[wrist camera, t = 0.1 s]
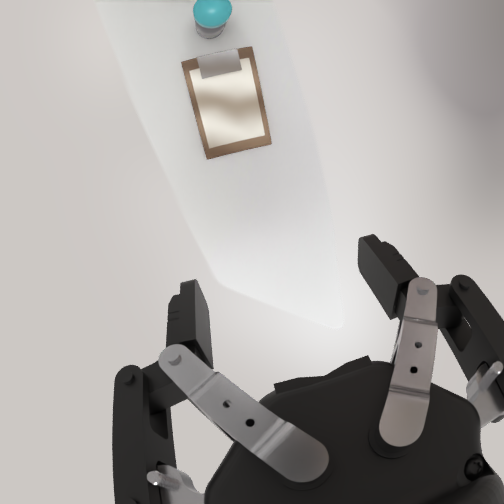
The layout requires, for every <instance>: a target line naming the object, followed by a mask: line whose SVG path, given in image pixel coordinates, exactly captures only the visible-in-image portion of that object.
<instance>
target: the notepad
mask: <svg viewBox="0 0 504 504" xmlns="http://www.w3.org/2000/svg"><path fill="white" fill-rule="evenodd" d="M181 63H182V67H183V71H184V75H185V79H186V83H187V87H188V90H189V94H190V98H191V102H192V106H193V109H194V113H195V117H196V121H197V125H198V128H199V132H200V136H201V139H202V143H203V147H204V151H205V154H206V158H207V159H211V158H215V157H219V156H223V155H227V154H231V153H235V152H239V151H243V150H248V149H252V148H256V147H261V146H266V145H270V144H272V143H271V138H270V133H269V127H268V122H267V117H266V112H265V106H264V101H263V96H262V91H261V87H260V82H259V77H258V72H257V67H256V63H255V58H254V53H253V49H252V46H251V47H245V48H240V49H232V50H227V51H222V52H217V53H213V54H209V55H204V56H200V57H197V58H194V59H191V60H187V61H183V62H181Z"/></svg>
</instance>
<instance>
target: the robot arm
mask: <svg viewBox="0 0 504 504" xmlns="http://www.w3.org/2000/svg"><path fill="white" fill-rule="evenodd" d="M358 243H359V244H358V267H359V270H360V273H361V275H362V276H363V278H364V279H365V281H366V282H367V284H368V285H369V287H370V288H371V290H372V291H373V293H374V295H375V296H376V298H377V299H378V301H379V303H380V304H381V305H382V307H383V309H384V311H385V312H386V314H387V315H388V317H389V318H390V320H391V319H394V318H396V317H398V318H399V320H400V322H399V326H398V331H397V336H396V341H395V345H394V350H393V354H392V358H391V361H390V363H388V362H384V361H371V360H370V358H369V356H368V355H367V356H365V357H362V358H359V359H356V360H353V361H350V362H348V363H345V364H344V365H342V366H340V367H339V368H337V369H336V370H334V371H332V372H330V373H329V374H327V375H325V376H317V377H300V378H295V379H291V380H287V381H283V382H280V383H275V384H274V388H275V390H274V391H273V392H271V393H269V394H267V395H266V396H265V397H263V398H262V399H261V400H260V401H259V402H257V401H256V400H254V399H253V398H252V397H250V396H249V395H248V394H247V393H245V392H244V391H243V390H241V389H240V388H239V387H238V386H236V385H235V384H234V383H232V382H231V381H230V380H229V379H227V378H226V377H225V376H224V375H222V374H221V373H219V372H214V371H213V370H212V369H214V368H213V357H212V347H211V333H210V320H209V310H208V306H207V303H206V300H205V298H204V295H203V293H202V291H201V288H200V286H199V284H198V281H197V280H196V279H194V280H190V281H186V282H182V283H181V286H180V294H179V295H174V296H173V297H172V299H171V301H170V303H169V305H168V322H167V337H166V348H165V349H164V350H163V351H162V352H161V354H160V356H159V359H158V361H156V362H155V363H153V364H152V365H149V366H147V367H145V368H143V369H140V368H139V367H138V366H135V365H128V366H125V367H124V368H122V369H121V370H120V371H119V372H118V373H117V375H116V377H115V384H114V400H113V401H114V402H113V433H112V435H113V436H112V450H113V479H114V480H113V481H114V496H115V504H504V485H503V483H502V480H501V478H500V477H499V476H498V475H497V473H495V471H494V470H493V469H492V468H491V467H490V466H489V464H488V463H487V462H486V460H485V459H484V457H483V454H482V450H481V443H480V432H481V431H480V429H481V428H482V427H484V426H485V425H487V424H488V423H490V422H493V423H496V422H499V421H500V420H502V419H503V418H504V321H503V319H502V318H501V316H500V315H499V314H498V312H497V311H496V309H495V308H494V307H493V305H492V304H491V303H490V301H489V300H488V298H487V297H486V296H485V294H484V293H483V292H482V291H481V289H480V288H479V287H478V285H477V284H476V283H475V282H474V281H473V280H472V279H471V278H470V277H468V276H466V275H456V276H455V277H453V278H452V281H451V284H446V285H435V283H434V282H433V281H431V280H430V279H427V278H423V277H419V276H418V275H417V273H416V272H415V271H414V270H413V269H412V267H411V266H410V265H409V264H408V262H407V261H406V260H405V259H404V258H403V257H402V255H401V254H399V252H398V251H397V249H396V248H395V247H394V246H392V245H391V244H389V243H387V242H381V241H380V240H379V239H378V238H377V237H376V236H375V235H374V234H371V235H368V236H364V237H361V238H359V242H358ZM465 319H466V320H467V321H466V320H465ZM467 322H468V323H469V324H468V323H467ZM469 325H470V326H469ZM438 329H440V331H441V332H442V334H443V336H444V337H445V339H446V341H447V343H448V344H449V346H450V348H451V350H452V352H453V353H454V355H455V357H456V359H457V361H458V363H459V365H460V366H461V368H462V370H463V372H464V374H465V376H466V378H467V380H468V384H467V387H466V392H467V399H465V398H463V397H461V396H459V395H456V394H454V393H452V392H450V391H448V390H446V389H443V388H442V387H439V386H438V385H435V384H433V383H431V379H432V372H433V366H434V359H435V351H436V341H437V332H438ZM186 399H188V400H189V401H190V402H191V403H192V404H193V405H194V406H195V407H196V408H198V410H199V411H200V412H201V413H202V414H204V415H205V416H206V417H207V418H208V419H209V420H210V421H211V422H212V423H213V424H214V425H216V427H217V428H218V429H219V430H220V431H222V432H223V433H224V434H225V435H226V436H227V437H228V438H230V439H231V440H232V441H233V442H234V443H233V444H232V446H231V448H230V449H229V451H228V453H227V454H226V456H225V458H224V459H223V461H222V463H221V464H220V466H219V467H218V469H217V471H216V472H215V474H214V475H213V477H212V479H211V480H210V482H209V483H208V485H207V487H206V490H205V493H204V494H201V493H199V492H198V491H197V490H196V489H195V487H194V485H193V482H192V480H191V478H190V477H189V476H188V475H187V474H186V473H184V472H182V471H180V470H177V467H176V459H175V450H174V441H173V432H172V421H171V410H170V407H171V406H173V405H175V404H177V403H179V402H181V401H184V400H186Z"/></svg>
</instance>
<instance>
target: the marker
mask: <svg viewBox="0 0 504 504" xmlns="http://www.w3.org/2000/svg"><path fill="white" fill-rule="evenodd" d="M231 11H232V6H231V3H230V1H229V0H197V2H196V3H195V5H194V8H193V13H194V18H195V22H196V29H197V32H198V34H199V35H200V36H202V37H204V38H215V37H217V36H218V35H220V34H221V32H222V31H223V28H224V26H225V24H226V22H227V20H228V19H229V16H230V14H231Z"/></svg>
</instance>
